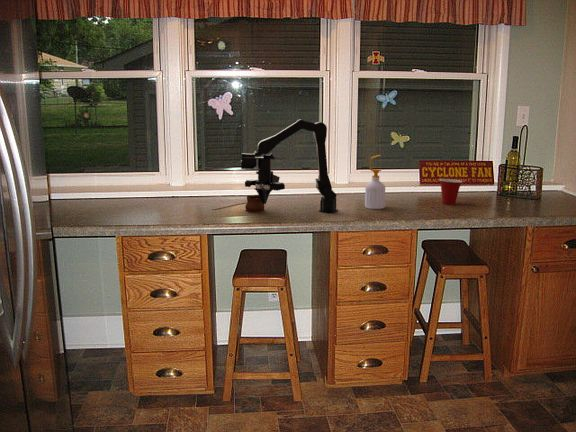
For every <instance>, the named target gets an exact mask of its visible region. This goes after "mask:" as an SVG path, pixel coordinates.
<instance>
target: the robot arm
mask: <svg viewBox="0 0 576 432" xmlns="http://www.w3.org/2000/svg"><path fill="white" fill-rule="evenodd" d="M300 130H301V131H302V130H305V131H309V132H312V134H313V138H314V142H315V144H316V155H317V165H318V178H315V179H314V180H315V183H316V184H315V188H316V189H317V191H318V193H320V195H321V196H322V197H321V198H320V203H319V204H320V205H319V206H320V207H319V210H318V211H319V212H322V213H328V214H331V213H335V212H338V211H339V209H337V196H338V195H337V194H336V193H335V191H334V190H333V187H332V184H331V180H330V177H329V171H328V160H327V150H326V149H327V148H326V147H327V146H326V140H327V135H328V134H327V133H328V126H327V125H326V124H325V123H324V122H322V121H317V122H310V121H306V120H303V119H300V118H299V119H297V120H296V122H294V123H292V124H290V125H289V126H287V127H286V128H284V129H282V130H281V131H279V132H278V133H276V134H275V135H272V136H269V137H267V138H265V139H261V140H260V141H259V142H258V144H257V149H256V150H254V152H253V153H245V152H244V153H241V160H240V165H241V166H240V168H241V170H254V169H255V168H256V167H257V171H255V174H256V175H257V179H255V178H252V179H246V180H245V182H244V187H246V188H247V187H248V188H250V187H252V186H255V188H254V190H255V191H256V193H257V195H259V196H260V198H261V200H262V202H263V204H264V205H266V204H267V201H268V199H269V196H270V195H271V192H273V191H275V192H276V191H283V190H285V186H286V185H285V183H284V182H280V179H281V177H280V176H278V175H275V174H274V171H273V170H272V160H275V159H276V156H274V154H273V153H272V152H271V151H273V150H274V149H275V148H276V147H277V146H278V145H279V144H280V143H282V142H283V141H285V140H287V139H288V138H290V137H291V136H293V135H294V134H296V133H297V132H299V131H300ZM269 153H270V154H269Z"/></svg>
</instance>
